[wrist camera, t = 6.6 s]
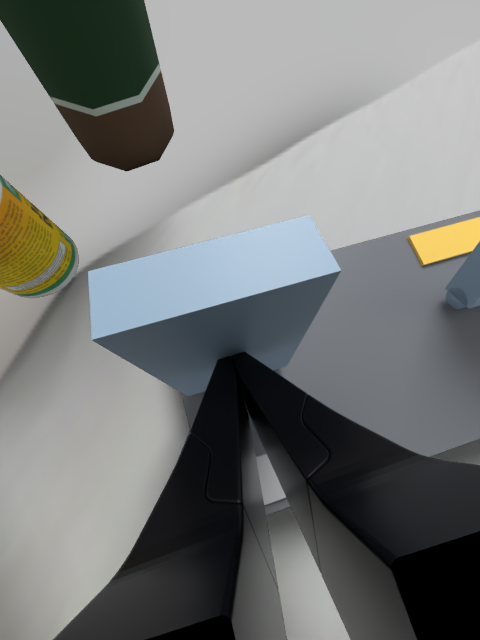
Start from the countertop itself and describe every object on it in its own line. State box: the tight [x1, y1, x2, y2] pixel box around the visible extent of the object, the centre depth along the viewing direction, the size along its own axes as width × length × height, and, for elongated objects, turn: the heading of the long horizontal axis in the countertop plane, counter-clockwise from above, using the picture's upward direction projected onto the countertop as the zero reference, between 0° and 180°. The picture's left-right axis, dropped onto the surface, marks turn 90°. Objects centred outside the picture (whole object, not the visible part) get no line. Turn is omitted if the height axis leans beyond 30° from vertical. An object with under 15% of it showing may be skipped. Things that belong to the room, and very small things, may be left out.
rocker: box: [88, 215, 341, 396], centre depth 9 cm, size 2×5×9 cm, turn 106°
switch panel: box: [182, 211, 480, 515], centre depth 15 cm, size 12×21×3 cm, turn 107°
